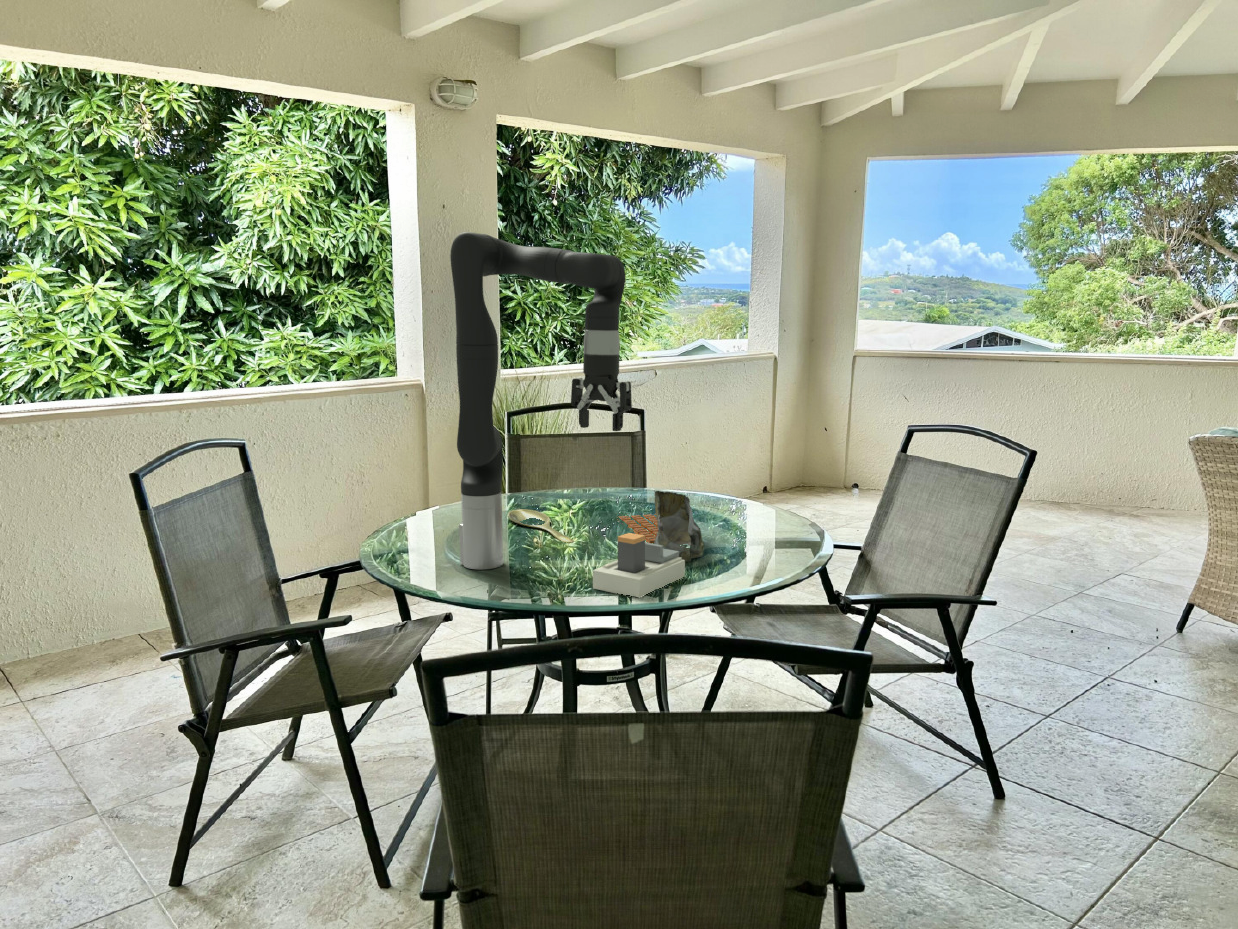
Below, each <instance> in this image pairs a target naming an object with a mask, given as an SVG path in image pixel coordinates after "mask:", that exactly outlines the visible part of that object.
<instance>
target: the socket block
mask: <svg viewBox="0 0 1238 929" xmlns="http://www.w3.org/2000/svg"><path fill="white" fill-rule="evenodd" d="M685 570H686V562H685V560H682V558H681V557H676V558H674V559H672V560H669V561H667V562H665V563H659V562H654V561H648V560H645V570H643V571H641V572H638V573H636V574H634V573H629V572H624V571H619V570H618V559H617V560H613V561H611V562H609V563H607V564H603V566H600V567H598V568H595V569H592V589H593V590H600V591H604V592H608V593H613V594H617V593H618V594H617V595H621V594H623V595H622V596H626V595H630V596H629V597H631V596H636V597H641V596H643V595H646V594H648V593H650V592H652V591H654V590H655V589H659V588H661V589H663V588H665V587H666V586H665V585H667V584H669V583H672V582H674V581H676V580H678V581H680V580H682V579H683V578H682V577H685V574H686V571H685ZM681 578H682V579H681ZM685 578H686V577H685ZM679 579H680V580H679ZM676 582H677V581H676ZM674 583H675V582H674ZM672 584H673V583H672ZM664 586H665V587H664ZM667 586H668V585H667ZM662 587H663V588H662ZM659 590H660V589H659ZM654 592H655V591H654ZM652 593H653V592H652ZM650 594H651V593H650ZM648 595H649V594H648ZM646 596H647V595H646ZM641 598H642V597H641Z"/></svg>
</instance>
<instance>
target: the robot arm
mask: <svg viewBox="0 0 1238 929" xmlns="http://www.w3.org/2000/svg"><path fill="white" fill-rule="evenodd" d="M450 247H451V248H450V257H449V258H450V267H451V268H450V269H451V275H452V285H453V293H454V306H455V310H454V311H455V326H456V327H455V328H456V330H455V331H456V337H455V338H456V341H455V342H456V343H455V344H456V346H455V347H456V348H455V350H456V352H455V353H456V354H455V355H456V357H455V358H456V368H457V369H456V372H457V374H456V375H457V387H458V389H457V390H458V397H459V398H458V399H459V413H458V414H459V416H458V417H459V418H458V427H457V438H456V448H457V449H456V450H457V452H458V454H459V457H460V458H461V460H462V477H461V482H460V495H461V497H460V498H461V501H460V502H461V523H460V524H459V526H458V530H459V532H458V533H459V557H460V558H459V559H460V561H459V562H460V565H462V566H464V567H465V568H467V569H471V570H491V569H496V568H499V567H502V566H503V564H504V539H503V534H504V533H503V502H502V501H503V500H502V497H503V496H502V493H503V492H502V482H503V475H504V474H503V473H504V470H503V469H504V468H503V467H504V466H503V459H504V458H503V456H504V455H503V454H504V453H503V441H502V440H503V439H502V435H501V433H500V430H499V429H498V428H497V427H496V426H495V425H494V417H493V416H494V414H493V402H494V401H493V400H494V399H493V398H494V394H495V388H496V384H497V376H498V368H499V345H498V344H499V340H498V334H497V330H496V327H495V324H494V322H493V319H492V317H491V315H490V313H489V309H488V308H487V305H486V302H485V297H484V279H483V278H484V277H489V276H497V275H499V276H500V275H518V276H519V275H521V276H525V277H529V278H532V279H536V280H540V281H544V282H550V283H558V284H564V285H565V284H566V285H575V286H579V287H584V288H586V289H587V288H589V289H594V294H593V299H592V300H591V301H589V302H588V303H587V304H586V306H585V313H584V316H585V317H584V318H585V320H584V321H585V322H584V336H583V360H582V362H583V368H582V369H583V371H582V372H583V374H584V379H583V378H582V377H578V378H573V379H572V380H571V391H570V393H571V394H570V395H571V396H570V405H571V406H572V407H575V408H576V409H578V424H579V426H580V428H582V429H586V428H587V429H588V428H589V427H590V410H589V408H590V406H592V405H591V404H593V403H594V402H595V401H600V402H606V404H607V405H608V406H609V407H610V409H611V410H612V412H613V413H612V432H620V431H622V429H623V428H624V427H623V426H624V413H625V412H628V411H631V410H632V409H633V408H632V407H633V405H632V404H633V403H632V401H633V400H632V383H631V381H619V378H618V376H619V374H620V345H621V344H620V330H619V327H620V322H619V321H620V313H619V312H620V311H619V310H620V306H621V304H622V300H623V296H624V295H623V294H624V289H625V285H626V270H625V266H624V264H623V262H622V261H621V259H620V258H619V257H617V256H615V255H611V254H603V253H595V252H594V253H592V252H578V251H574V250H571V249H570V250H569V249H564V248H557V247H556V248H554V247H546V246H524V245H518V244H515V243H511V242H508V241H505V240H502V239H499V238H497V237H494V236H491V235H489V234H485V233H478V232H477V233H476V232H468V231H467V232H465V231H464V232H461V233H459V234H458V235H457V236H456V237H455V238H454V240H453V242H452V244H451V246H450ZM584 388H585V391H584ZM583 391H584V393H583ZM617 392H619V394H618V393H617Z"/></svg>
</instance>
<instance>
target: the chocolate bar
mask: <svg viewBox="0 0 1238 929" xmlns="http://www.w3.org/2000/svg"><path fill="white" fill-rule="evenodd" d="M642 515H643V516H644V517H645V518H646V519H648V520H649V521H651V522H652V523H653V522H654V523H653V524H654V525H655V526H656V527H655V526H654V525H653V524H651V523H649V522H648V521H647V520H646V519H644V518H643V517H641V515H640V514H636V515H635V514H634V515H630V516H631V517H632V518H633V519H634V520H635V521H637V522H638V523H639V524H641V526H640V525H639V524H637V523H636V522H635V521H634V520H631V518H630V516H628V515H621V516H620V515H619V516H617V518H618V517H619V518H620V519H621V520H622V521H624V522H625V523H626V524H627V525H628V527H629V528H632V529H633V531H634V532H633V531H632V532H633V534H639V535H645V540H646V543H647V542H648V543H654V542H655V539H656V537H657V532H658V526H657V524H658V523H657V519H656V517H655V516H654V515H656V513H654V514H652V513H650V514H642ZM649 518H650V519H649ZM628 527H627V528H628ZM642 527H643V528H642ZM629 528H628V529H629ZM644 528H646V529H647V530H648V531H649V532H648V531H647V530H646V529H644ZM652 534H653V535H652ZM654 535H655V536H654Z"/></svg>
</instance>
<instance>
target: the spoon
mask: <svg viewBox="0 0 1238 929" xmlns="http://www.w3.org/2000/svg"><path fill="white" fill-rule="evenodd" d="M507 516H508V519H509V520H510V521H512V522H513V523H516V524H518V525H521V526H525V527H529V528H530V527H531V528H536V529H542V530H545V531H547V532H548V533H550V534H551V535H552V536H553V537H554V538H555V539H556V540H558V541H559V540H561V541H560V542H562V541H563V542H562V543H564V542H567V543H566V544H571V543H573V542H574V540H573V539H572V538H570V537H569V536H566V535H565V534H563V533H561V532H559V531H558V530H556V529H554V528H553V527H552V526H550V525H551V524H550V523H551V517H550V516H548V515H547V514H546V513H543V512H541V511H538V510H535V509H525V508H521V509H520V508H519V509H514V510H513V509H512V510H511V511H509V512H508V514H507ZM529 518H536V519H540V520H542V521H545V523H544V524H542V525H538V524H536V525H535V524H534V525H531V524H527V523H526V524H523V523H521V522H520V521H523V520H526V519H529Z"/></svg>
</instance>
